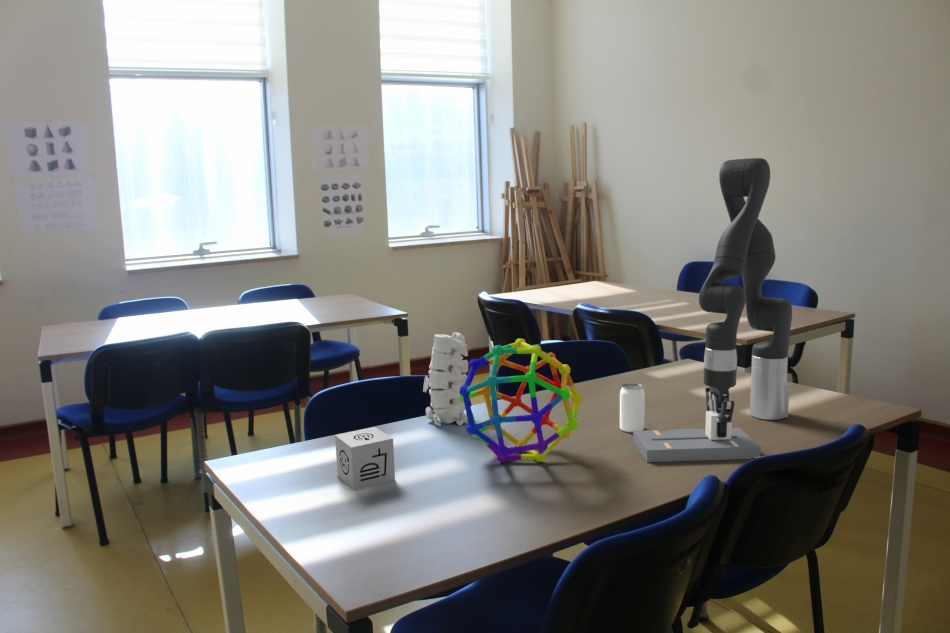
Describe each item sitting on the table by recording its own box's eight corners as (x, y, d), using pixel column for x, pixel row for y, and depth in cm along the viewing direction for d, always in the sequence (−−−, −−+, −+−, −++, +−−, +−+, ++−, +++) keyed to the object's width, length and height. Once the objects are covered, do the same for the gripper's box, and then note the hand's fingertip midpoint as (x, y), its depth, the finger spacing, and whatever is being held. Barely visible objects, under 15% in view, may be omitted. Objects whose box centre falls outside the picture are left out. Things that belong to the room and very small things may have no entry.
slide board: (738, 438, 186) (738, 427, 186) (760, 458, 173) (760, 446, 172) (633, 442, 186) (633, 430, 186) (646, 462, 172) (647, 449, 172)
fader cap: (725, 433, 181) (726, 410, 180) (731, 439, 177) (731, 415, 176) (705, 434, 181) (705, 411, 180) (710, 439, 177) (711, 416, 176)
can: (644, 433, 192) (645, 389, 190) (619, 432, 194) (619, 389, 191) (643, 425, 198) (644, 383, 196) (619, 424, 200) (620, 382, 198)
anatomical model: (478, 422, 205) (475, 335, 201) (438, 430, 200) (435, 340, 195) (461, 412, 215) (459, 329, 210) (423, 419, 209) (420, 334, 205)
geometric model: (609, 353, 181) (498, 315, 189) (587, 378, 153) (458, 331, 161) (573, 462, 187) (467, 420, 195) (546, 504, 159) (424, 453, 168)
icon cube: (395, 480, 166) (393, 438, 164) (353, 490, 161) (351, 447, 159) (377, 466, 174) (375, 426, 172) (337, 476, 169) (335, 435, 167)
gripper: (747, 372, 169) (744, 443, 172) (725, 358, 183) (723, 424, 186) (714, 373, 169) (712, 444, 172) (695, 359, 183) (693, 425, 186)
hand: (718, 433), depth 179 cm, fingers closed on fader cap, 4 cm apart
